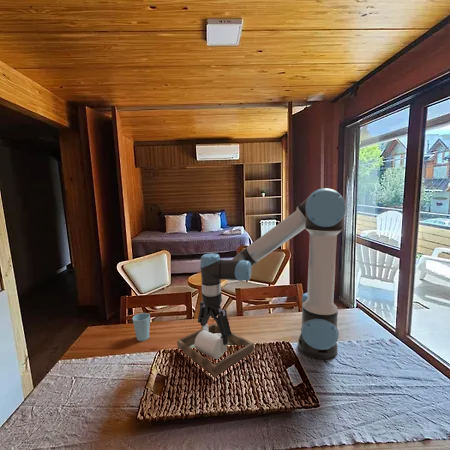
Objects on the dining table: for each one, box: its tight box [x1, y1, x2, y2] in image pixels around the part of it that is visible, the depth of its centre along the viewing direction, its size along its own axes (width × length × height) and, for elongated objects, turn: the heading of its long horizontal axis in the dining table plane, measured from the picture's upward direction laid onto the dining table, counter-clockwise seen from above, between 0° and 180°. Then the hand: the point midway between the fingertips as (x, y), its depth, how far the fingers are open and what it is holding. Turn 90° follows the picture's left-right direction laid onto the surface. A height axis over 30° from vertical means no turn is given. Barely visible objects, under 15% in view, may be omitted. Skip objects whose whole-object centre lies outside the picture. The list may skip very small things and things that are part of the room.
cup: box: [131, 312, 151, 342], centre depth 123 cm, size 8×8×10 cm
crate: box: [176, 322, 255, 377], centre depth 108 cm, size 24×20×6 cm
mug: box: [195, 330, 224, 360], centre depth 107 cm, size 12×10×8 cm
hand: (214, 345), depth 108 cm, fingers open, 11 cm apart
